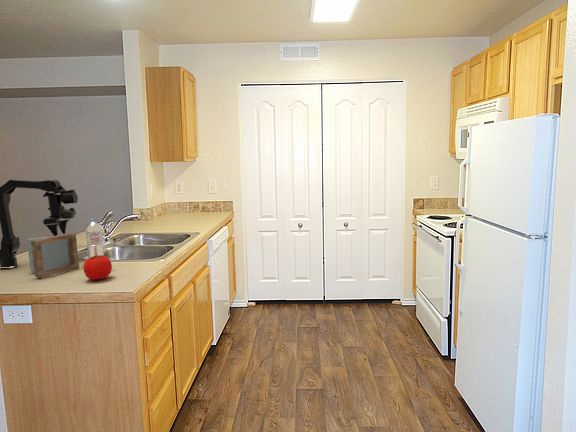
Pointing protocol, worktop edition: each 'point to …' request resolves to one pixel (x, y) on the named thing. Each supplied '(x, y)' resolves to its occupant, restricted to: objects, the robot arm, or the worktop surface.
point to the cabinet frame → (73, 265)
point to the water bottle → (94, 239)
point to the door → (51, 254)
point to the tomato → (97, 267)
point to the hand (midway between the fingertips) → (60, 235)
